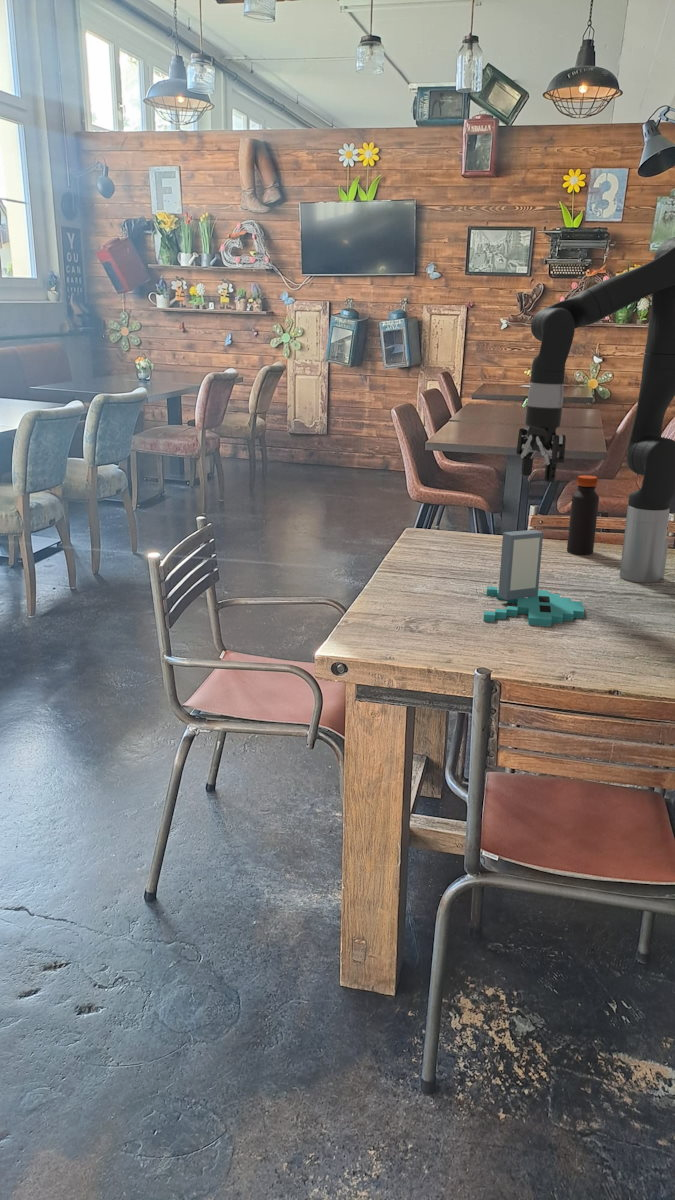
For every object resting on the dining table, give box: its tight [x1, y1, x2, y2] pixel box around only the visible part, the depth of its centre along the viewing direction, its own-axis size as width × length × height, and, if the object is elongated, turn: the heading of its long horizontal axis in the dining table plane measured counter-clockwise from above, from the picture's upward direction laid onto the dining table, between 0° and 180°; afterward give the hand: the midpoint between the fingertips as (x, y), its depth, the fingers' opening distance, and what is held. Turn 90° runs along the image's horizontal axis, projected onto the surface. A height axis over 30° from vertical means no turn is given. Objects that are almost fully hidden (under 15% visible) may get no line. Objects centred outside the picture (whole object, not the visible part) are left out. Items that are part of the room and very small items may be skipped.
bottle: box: [566, 474, 600, 556], centre depth 223 cm, size 7×7×20 cm
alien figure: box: [483, 586, 585, 627], centre depth 180 cm, size 20×2×20 cm
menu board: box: [498, 529, 544, 601], centre depth 182 cm, size 8×3×14 cm, turn 113°
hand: (537, 478), depth 191 cm, fingers open, 8 cm apart
